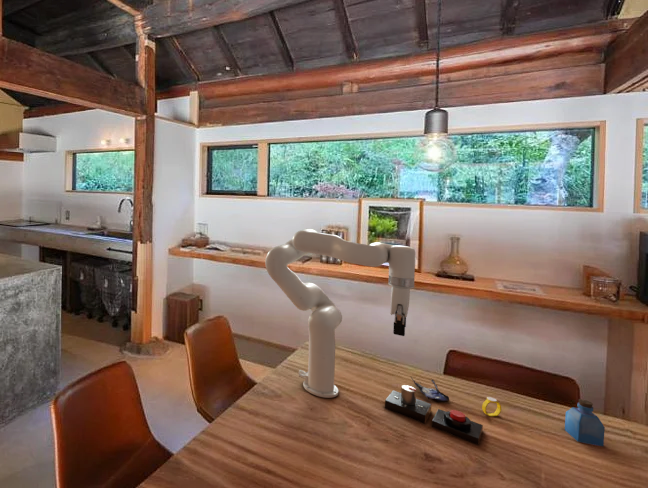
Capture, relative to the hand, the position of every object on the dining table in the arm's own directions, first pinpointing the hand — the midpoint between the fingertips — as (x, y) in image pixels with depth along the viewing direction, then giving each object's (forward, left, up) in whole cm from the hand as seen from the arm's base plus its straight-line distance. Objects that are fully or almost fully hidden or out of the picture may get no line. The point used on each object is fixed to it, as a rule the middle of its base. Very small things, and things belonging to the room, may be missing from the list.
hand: (399, 330), depth 135 cm
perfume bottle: (+45, +33, -31) cm, 64 cm away
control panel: (+2, +7, -30) cm, 31 cm away
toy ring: (+23, +26, -31) cm, 46 cm away
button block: (+16, +7, -30) cm, 35 cm away
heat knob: (+2, +7, -27) cm, 28 cm away
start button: (+16, +7, -27) cm, 32 cm away
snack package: (+5, +25, -31) cm, 40 cm away
